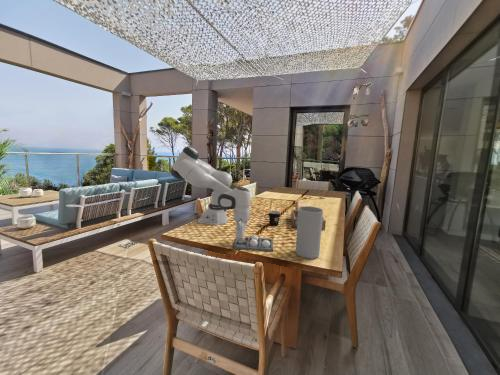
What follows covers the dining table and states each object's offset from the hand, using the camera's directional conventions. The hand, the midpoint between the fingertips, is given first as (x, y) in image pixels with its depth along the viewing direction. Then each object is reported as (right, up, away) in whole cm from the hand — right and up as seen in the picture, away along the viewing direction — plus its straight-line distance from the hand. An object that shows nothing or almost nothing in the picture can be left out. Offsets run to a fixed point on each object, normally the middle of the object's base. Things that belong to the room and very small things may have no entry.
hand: (241, 240), depth 126 cm
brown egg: (0, -2, 0) cm, 2 cm away
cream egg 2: (+7, -4, 0) cm, 8 cm away
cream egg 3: (+14, -4, -1) cm, 15 cm away
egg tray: (+7, -4, +4) cm, 9 cm away
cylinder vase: (+36, -7, -5) cm, 37 cm away
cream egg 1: (+8, -3, +7) cm, 11 cm away
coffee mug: (+22, +1, +42) cm, 47 cm away
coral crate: (+49, +1, +47) cm, 68 cm away
